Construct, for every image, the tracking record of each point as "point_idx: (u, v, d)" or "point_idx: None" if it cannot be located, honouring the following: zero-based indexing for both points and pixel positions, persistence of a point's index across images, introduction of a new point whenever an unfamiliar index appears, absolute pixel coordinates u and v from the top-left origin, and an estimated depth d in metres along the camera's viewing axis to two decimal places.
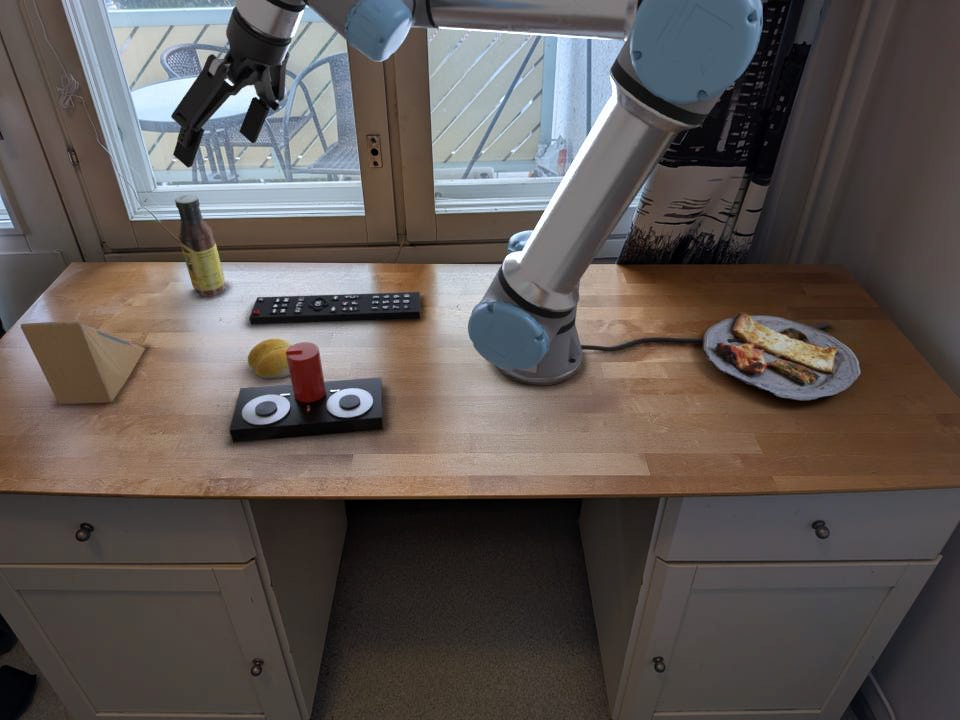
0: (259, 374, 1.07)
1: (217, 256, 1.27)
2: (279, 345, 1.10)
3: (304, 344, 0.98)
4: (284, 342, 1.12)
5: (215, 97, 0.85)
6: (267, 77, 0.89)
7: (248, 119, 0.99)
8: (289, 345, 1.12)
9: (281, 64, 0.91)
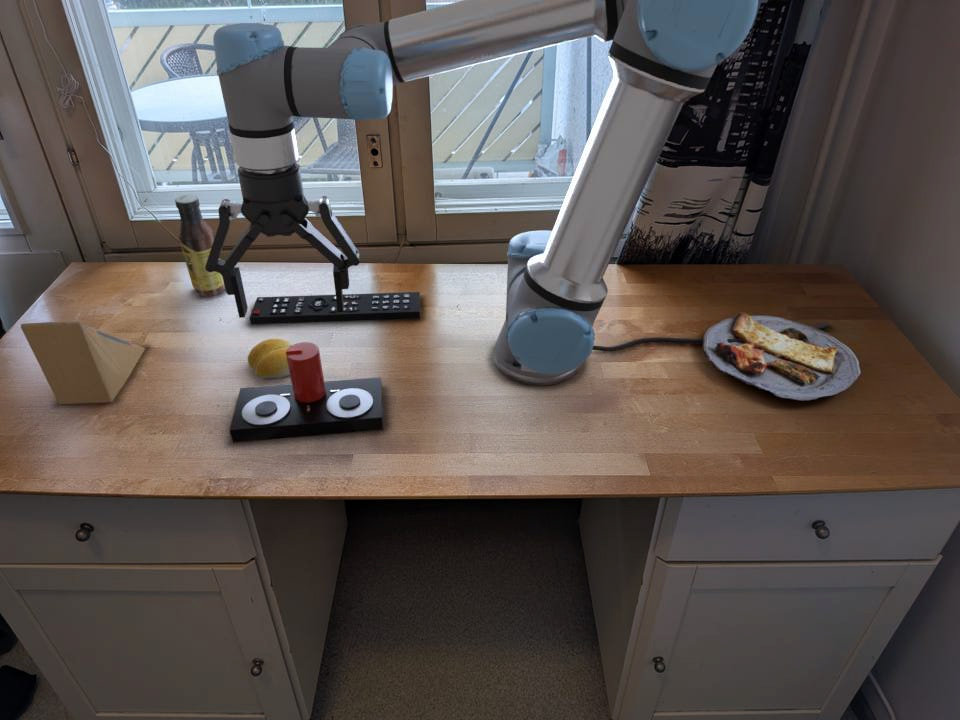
0: (259, 374, 1.07)
1: None
2: (279, 345, 1.10)
3: (304, 344, 0.98)
4: (284, 342, 1.12)
5: (239, 242, 0.85)
6: (297, 226, 0.84)
7: None
8: (289, 345, 1.12)
9: (320, 216, 0.84)
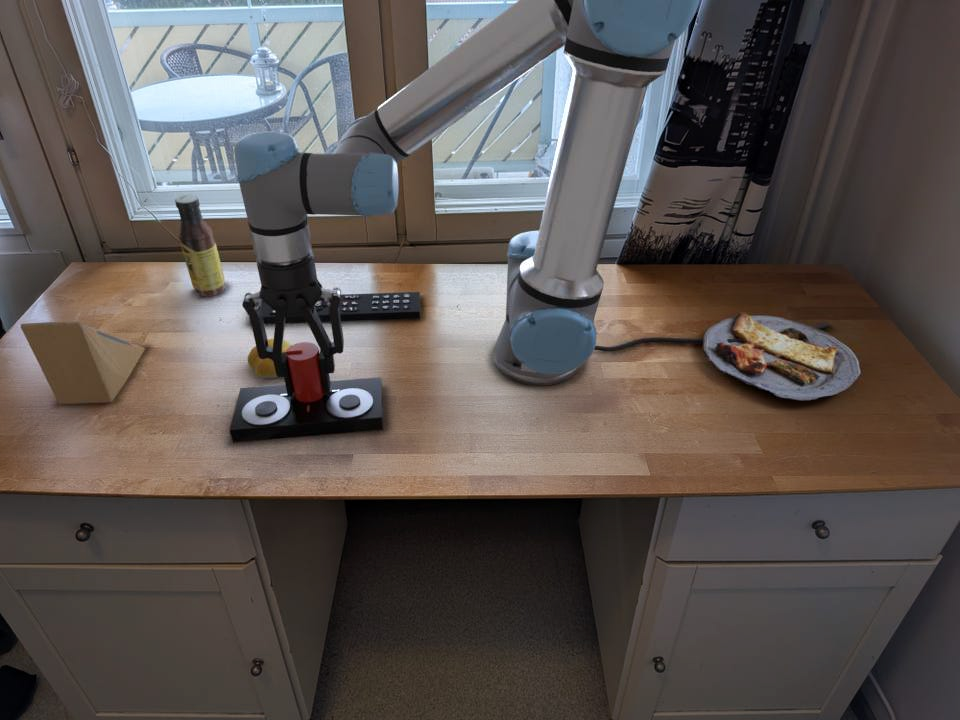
0: (259, 374, 1.07)
1: (217, 256, 1.27)
2: None
3: (304, 344, 0.98)
4: (284, 342, 1.12)
5: (274, 330, 0.93)
6: (306, 311, 0.91)
7: None
8: (289, 345, 1.12)
9: (329, 304, 0.91)
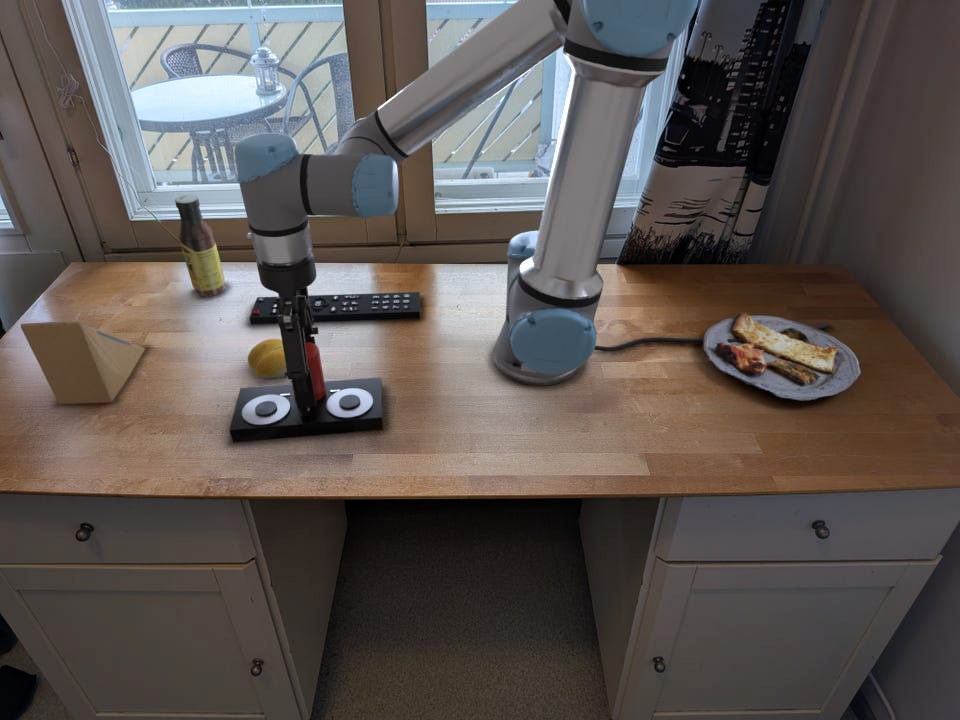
0: (259, 374, 1.07)
1: (217, 256, 1.27)
2: (279, 345, 1.10)
3: None
4: None
5: None
6: (307, 298, 0.94)
7: None
8: None
9: None
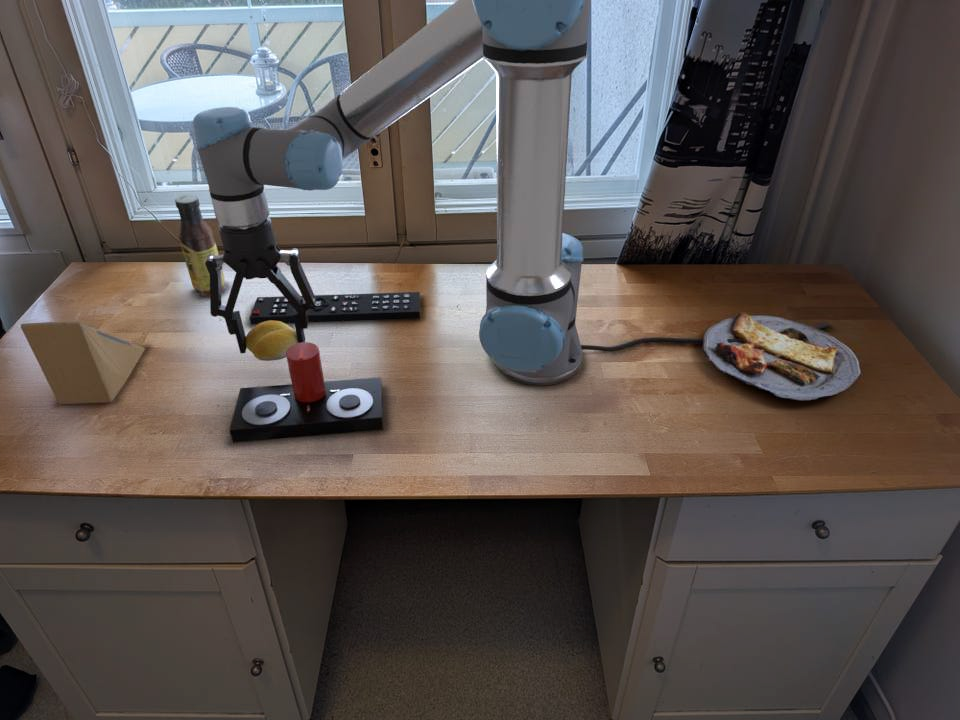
0: (256, 356, 1.05)
1: None
2: (276, 326, 1.08)
3: (290, 351, 0.96)
4: (282, 324, 1.09)
5: None
6: (269, 272, 0.99)
7: None
8: (287, 327, 1.10)
9: (289, 264, 0.99)
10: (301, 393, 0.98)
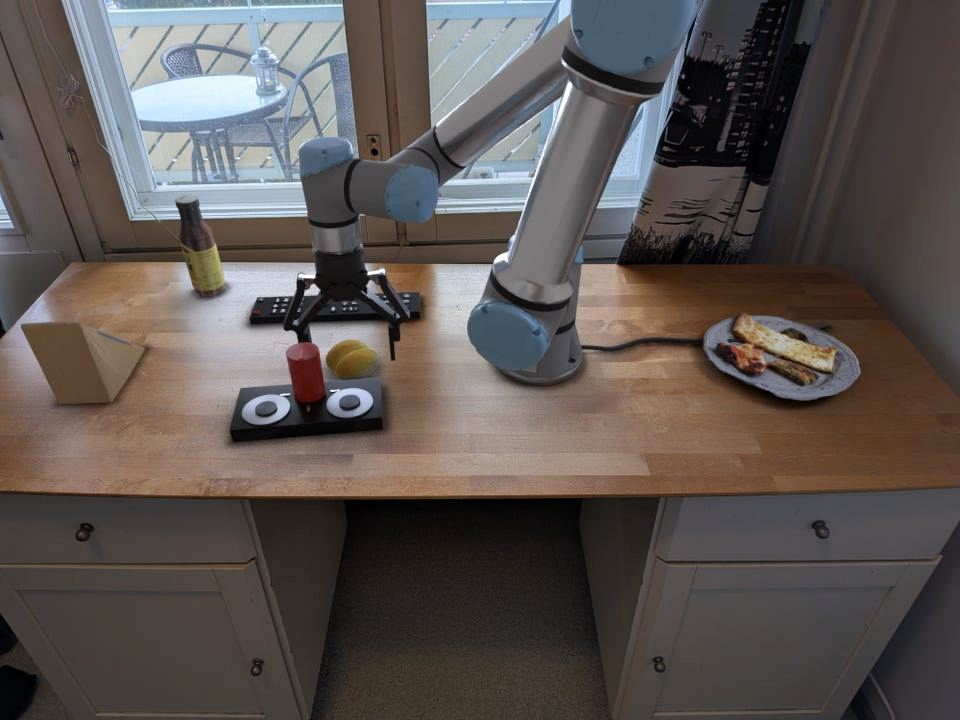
0: (339, 375, 1.07)
1: (217, 256, 1.27)
2: (357, 346, 1.10)
3: (290, 351, 0.96)
4: (361, 343, 1.12)
5: (311, 307, 1.03)
6: (360, 293, 1.01)
7: None
8: (366, 346, 1.12)
9: (379, 284, 1.01)
10: (301, 393, 0.98)
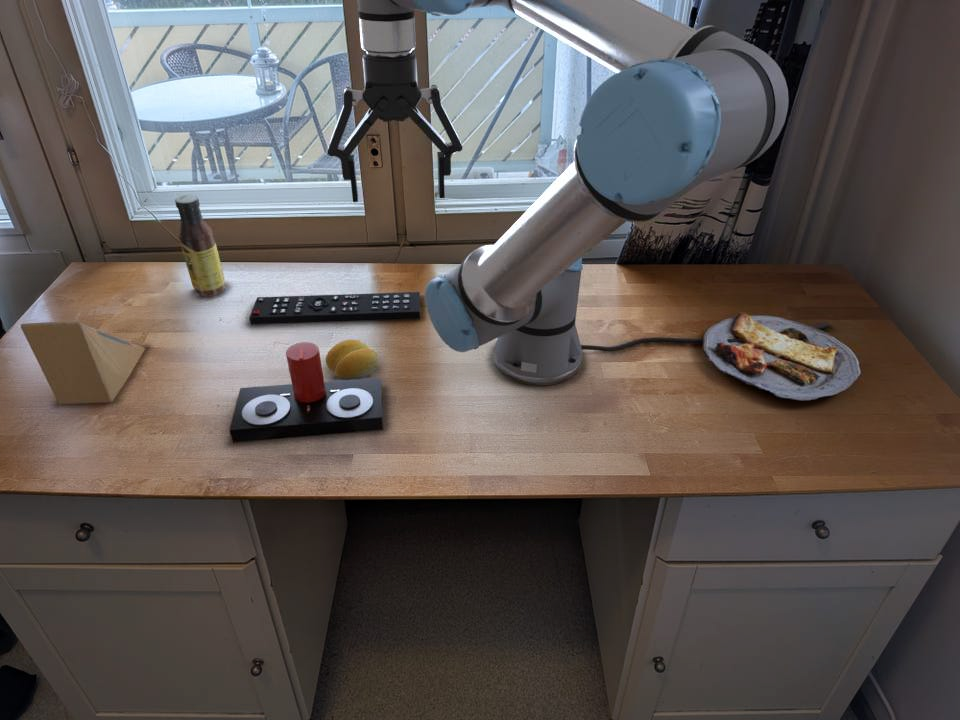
0: (339, 375, 1.07)
1: (217, 256, 1.27)
2: (357, 346, 1.10)
3: (290, 351, 0.96)
4: (361, 343, 1.12)
5: (358, 128, 0.96)
6: (411, 111, 0.94)
7: (438, 175, 1.03)
8: (366, 346, 1.12)
9: (431, 101, 0.94)
10: (301, 393, 0.98)
